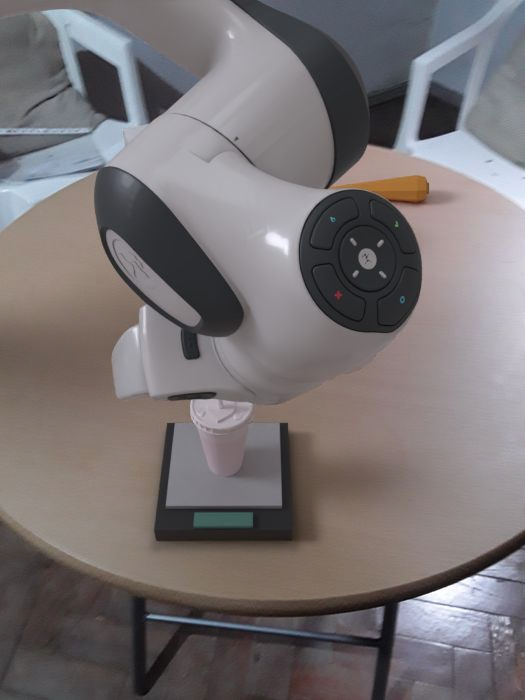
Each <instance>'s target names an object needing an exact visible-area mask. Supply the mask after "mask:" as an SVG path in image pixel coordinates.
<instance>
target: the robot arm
mask: <svg viewBox="0 0 525 700" xmlns="http://www.w3.org/2000/svg"><path fill="white" fill-rule="evenodd" d="M56 10H71V11H72V10H75V11H81V12H87V13H91V14H94V15H98V16H99V17H102V18H105V19H106V20H109V21H110V22H112V23H114V24H115V25H117V26H118V27H120V28H121V29H123V30H124V31H126V32H128V33H129V34H131V35H132V36H134V37H135V38H137V39H138V40H139V41H141V42H143V43H144V44H145V45H147V46H149V47H150V48H152V49H153V50H154V51H156V52H157V53H159V54H160V55H162V56H164V57H165V58H167V59H168V60H170V61H171V62H173V63H175V64H176V65H177V66H179V67H180V68H182V69H183V70H185V71H186V72H187V73H189V74H191V75H192V76H194V77H196V78H197V79H198V82H196V83H195V84H194V85H193V86H192V87H191V88H190V89H189V90H188V91H187V92H186V93H184V94H183V95H182V96H181V97H180V98H179V99H178V100H177V101H176V102H174V103H173V104H172V105H171V106H170V107H169V108H168V109H167V110H166V111H165V112H164V113H162V114H160V115H159V116H157V117H155V118H154V119H153V120H152V121H151V122H150V123H148V124H149V125H148V126H147V127H146V128H144V129H143V130H142V131H141V132H140V133H139V134H138V135H137V136H136V137H135V138H134V139H132V140H131V141H130V142H129V143H128V144H127V145H126V146H125V145H124V146H123V147H122V149H120V150H119V151H118V152H117V153H116V154H115V155H114V156H113V157H112V158H111V159H110V160H109V161H108V162H107V163H106V164H105V165H104V166H103V167H101V168H99V170H98V171H97V173H96V177H95V182H94V188H93V205H94V214H95V219H96V225H97V229H98V234H99V237H100V242H101V245H102V247H103V251H104V252H105V253H104V254H105V255H106V257H107V259H108V261H109V262H110V264H111V266H112V267H113V269H114V270H115V272H116V273H117V274H118V276H119V277H120V279H122V281H123V282H124V283H125V284H126V285H127V286H128V288H129V289H131V291H132V292H133V293H134V294H135V295H137V296H138V297H139V298H140V299H141V300H142V301H143V302H144V303H145V304H144V305H142V306H141V307H140V308H139V310H138V323H137V324H135V325H133V326H131V327H129V328H127V329H126V331H124V332H123V333H122V334H121V336H120V337H119V339H118V341H117V342H116V344H115V345H114V348H113V350H112V351H111V352H112V353H111V370H112V378H113V379H112V380H113V386H114V393H115V396H116V398H117V399H118V400H120V401H133V400H138V399H146V398H147V399H148V398H149V399H150V400H152V401H155V402H164V401H169V402H175V401H191V400H195V399H203V400H206V399H218V400H226V401H232V402H248V403H252V404H254V405H256V406H257V405H258V406H276V405H277V406H278V405H282V404H285V403H288V402H290V401H293V400H294V399H296V398H299V397H300V396H303V395H304V394H306V393H308V392H311V391H313V390H314V389H316V388H319V387H320V386H322V385H323V384H324V383H326V382H328V381H330V380H334V379H336V378H339V377H341V376H343V375H347V374H352V373H354V372H357V371H360V370H361V369H363V368H365V367H366V366H368V365H369V364H371V363H372V362H373V361H374V360H375V359H376V357H377V354H379V353H381V352H382V351H383V350H384V349H385V348H387V346H389V345H390V344H391V343H392V342H394V341H395V339H396V338H398V336H400V334H401V333H402V332H403V330H404V329H405V328H406V326H407V325H408V323H409V322H410V320H411V318H412V316H413V314H414V312H415V310H416V308H417V305H418V302H419V299H420V295H421V291H422V285H423V259H422V252H421V247H420V244H419V240H418V239H417V236H416V233H415V231H414V228H413V227H412V225H411V224H410V222H409V220H408V219H407V217H406V215H404V214H403V212H402V211H401V210H400V209H399V208H398V207H397V206H396V205H395V204H394V203H392V202H391V200H387V199H385V198H384V197H382V196H380V195H378V194H376V193H374V192H371V191H368V190H364V189H359V188H338V189H328V188H331V187H333V186H334V184H335V183H336V182H337V181H338V180H340V178H342V177H343V176H344V175H345V174H346V173H347V172H348V171H350V170H351V169H352V168H353V167H354V166H356V165H357V163H359V161H360V160H361V159H362V158H363V156H364V155H365V153H366V150H367V147H368V144H369V140H370V134H371V133H370V131H371V120H370V119H371V117H370V116H371V115H370V106H369V99H368V94H367V89H366V85H365V82H364V79H363V76H362V74H361V71H360V70H359V68H358V66H357V64H356V62H355V61H354V59H353V58H352V57H351V55H350V54H349V53H348V51H347V50H346V49H345V48H344V47H343V46H342V45H341V44H340V43H339V42H338V41H336V40H335V39H334V38H333V37H331V36H330V35H329V34H327V33H326V32H324V31H323V30H321V29H319V28H318V27H316V26H314V25H312V24H311V23H308V22H306V21H304V20H302V19H299V18H298V17H296V16H294V15H293V16H292V15H290V14H288V13H286V12H283V11H280V10H278V9H276V8H274V7H272V6H269V5H267V4H265V3H263V2H262V1H261V0H0V21H1V20H4V19H8V18H9V19H10V18H12V17H16V16H22V15H27V14H33V13H39V12H46V11H56Z"/></svg>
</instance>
